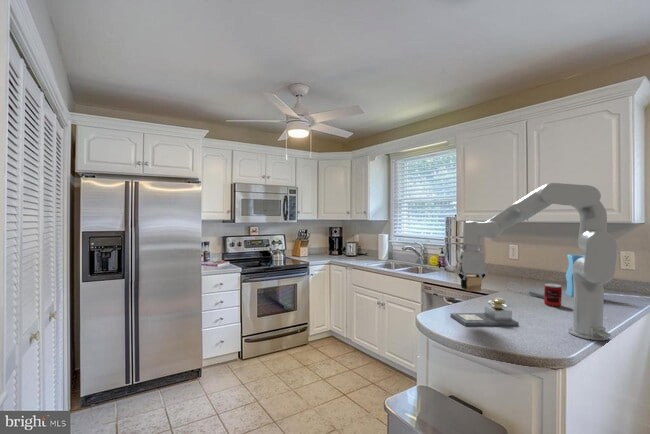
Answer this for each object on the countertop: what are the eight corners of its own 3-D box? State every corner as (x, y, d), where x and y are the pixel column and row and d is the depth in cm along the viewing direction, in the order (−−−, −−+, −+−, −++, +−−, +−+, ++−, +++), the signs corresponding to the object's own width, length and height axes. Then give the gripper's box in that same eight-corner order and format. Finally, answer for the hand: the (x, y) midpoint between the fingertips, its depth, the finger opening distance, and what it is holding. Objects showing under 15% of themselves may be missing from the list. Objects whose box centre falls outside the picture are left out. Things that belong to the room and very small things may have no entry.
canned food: (554, 303, 185) (554, 283, 184) (565, 307, 177) (565, 286, 176) (540, 303, 184) (541, 283, 184) (550, 307, 176) (551, 286, 176)
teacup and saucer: (485, 304, 181) (485, 296, 181) (496, 303, 184) (496, 295, 184) (499, 308, 173) (499, 300, 173) (510, 307, 176) (510, 299, 176)
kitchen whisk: (555, 302, 187) (555, 291, 187) (502, 290, 217) (503, 281, 217) (561, 301, 189) (561, 291, 189) (509, 290, 219) (509, 280, 219)
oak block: (480, 291, 147) (481, 277, 147) (467, 291, 146) (468, 277, 146) (473, 288, 153) (474, 275, 153) (461, 288, 152) (461, 275, 152)
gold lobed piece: (507, 311, 148) (507, 301, 148) (496, 311, 148) (496, 301, 148) (500, 308, 153) (500, 298, 153) (489, 308, 153) (489, 298, 153)
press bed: (518, 325, 144) (518, 313, 144) (465, 326, 142) (465, 313, 142) (498, 316, 158) (499, 304, 158) (450, 316, 156) (450, 304, 156)
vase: (571, 297, 199) (572, 256, 199) (565, 294, 208) (566, 254, 208) (590, 299, 196) (591, 257, 196) (583, 295, 205) (584, 255, 205)
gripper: (457, 249, 145) (456, 290, 145) (495, 249, 146) (494, 290, 146) (449, 247, 152) (448, 286, 152) (485, 247, 154) (484, 286, 154)
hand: (471, 287), depth 149 cm, fingers closed on oak block, 6 cm apart
